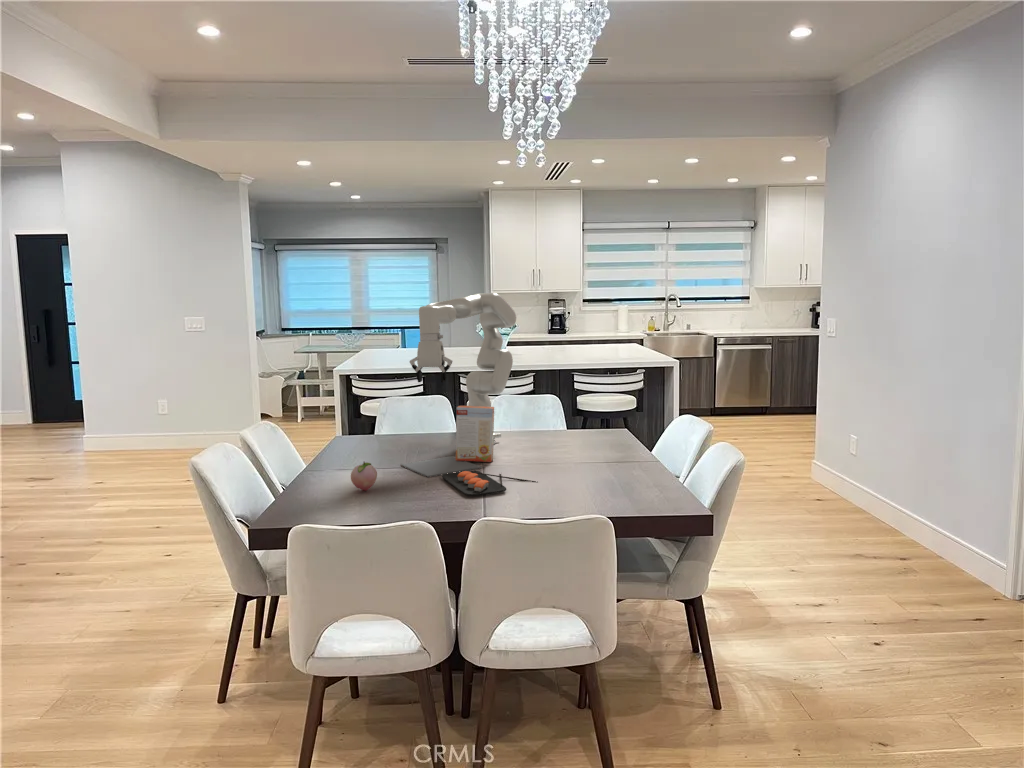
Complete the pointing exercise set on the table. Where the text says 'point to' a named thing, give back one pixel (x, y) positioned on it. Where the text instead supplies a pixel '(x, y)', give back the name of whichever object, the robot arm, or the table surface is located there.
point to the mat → (439, 466)
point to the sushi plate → (476, 482)
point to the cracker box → (474, 433)
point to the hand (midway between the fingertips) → (431, 381)
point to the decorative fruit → (364, 476)
